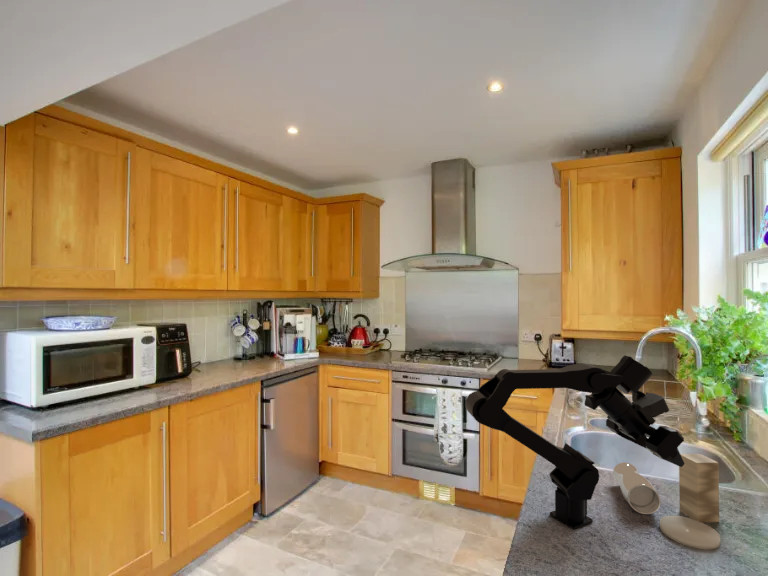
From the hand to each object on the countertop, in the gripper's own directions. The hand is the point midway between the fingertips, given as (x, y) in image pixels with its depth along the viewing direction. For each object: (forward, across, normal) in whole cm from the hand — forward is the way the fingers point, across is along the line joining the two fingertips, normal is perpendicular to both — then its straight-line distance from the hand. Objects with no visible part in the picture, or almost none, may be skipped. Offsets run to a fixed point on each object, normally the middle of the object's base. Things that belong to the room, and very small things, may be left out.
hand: (666, 456), depth 91 cm
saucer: (+9, -7, +10) cm, 15 cm away
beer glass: (+7, +15, +7) cm, 18 cm away
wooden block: (+15, 0, +4) cm, 15 cm away
